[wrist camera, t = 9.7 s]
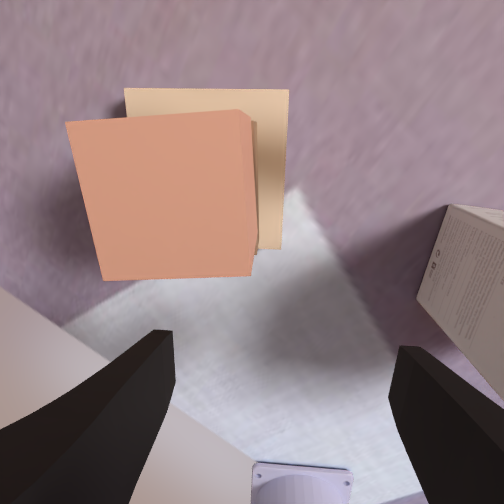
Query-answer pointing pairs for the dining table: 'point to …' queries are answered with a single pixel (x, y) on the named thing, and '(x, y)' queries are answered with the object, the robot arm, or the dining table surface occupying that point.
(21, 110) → the dining table surface
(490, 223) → the small box
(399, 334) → the dining table surface
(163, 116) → the terracotta cube
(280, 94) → the birch base slab
